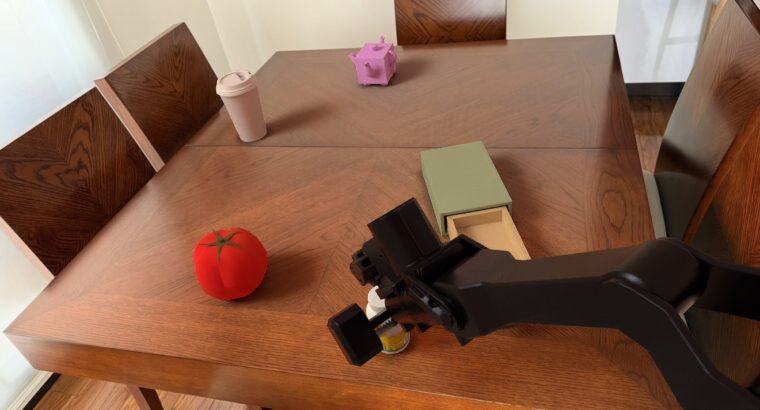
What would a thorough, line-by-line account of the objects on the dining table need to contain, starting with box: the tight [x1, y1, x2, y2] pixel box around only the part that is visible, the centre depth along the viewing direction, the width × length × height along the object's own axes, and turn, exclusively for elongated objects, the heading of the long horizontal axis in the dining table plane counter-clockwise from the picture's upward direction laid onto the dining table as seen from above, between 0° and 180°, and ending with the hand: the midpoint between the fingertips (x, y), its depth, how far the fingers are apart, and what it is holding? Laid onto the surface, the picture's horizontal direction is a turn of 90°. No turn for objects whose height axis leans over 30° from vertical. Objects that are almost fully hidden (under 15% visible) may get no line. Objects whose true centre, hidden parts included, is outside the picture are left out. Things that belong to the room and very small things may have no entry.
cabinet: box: [419, 140, 513, 237], centre depth 92 cm, size 19×12×5 cm, turn 6°
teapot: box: [347, 35, 398, 87], centre depth 134 cm, size 18×13×10 cm
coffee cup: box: [215, 69, 268, 143], centre depth 118 cm, size 10×10×15 cm
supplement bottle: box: [365, 286, 411, 355], centre depth 69 cm, size 5×5×10 cm
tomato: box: [192, 226, 269, 301], centre depth 80 cm, size 12×12×11 cm
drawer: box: [447, 206, 532, 331], centre depth 76 cm, size 22×11×4 cm, turn 6°
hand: (381, 303), depth 68 cm, fingers open, 9 cm apart
